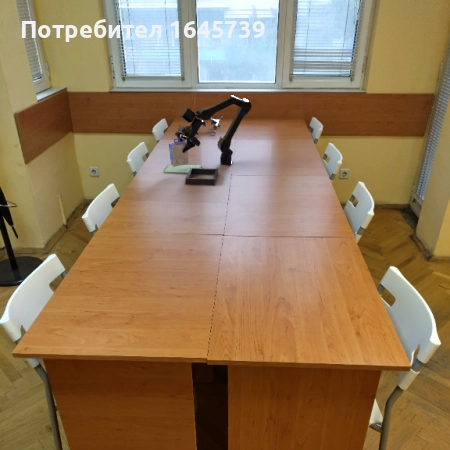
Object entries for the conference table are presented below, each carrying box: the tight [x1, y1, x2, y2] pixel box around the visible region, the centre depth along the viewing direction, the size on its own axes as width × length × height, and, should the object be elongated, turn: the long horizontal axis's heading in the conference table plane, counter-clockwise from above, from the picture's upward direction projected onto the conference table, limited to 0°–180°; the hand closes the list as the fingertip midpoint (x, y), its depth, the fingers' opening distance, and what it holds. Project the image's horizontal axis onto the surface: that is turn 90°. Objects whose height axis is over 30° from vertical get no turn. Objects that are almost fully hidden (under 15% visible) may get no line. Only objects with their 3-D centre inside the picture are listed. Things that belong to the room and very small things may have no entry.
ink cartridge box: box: [168, 138, 190, 167], centre depth 262 cm, size 10×6×14 cm, turn 118°
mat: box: [163, 163, 202, 174], centre depth 270 cm, size 20×14×1 cm
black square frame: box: [185, 167, 219, 186], centre depth 254 cm, size 16×18×4 cm
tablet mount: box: [200, 116, 224, 135], centre depth 346 cm, size 27×14×17 cm
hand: (179, 151), depth 262 cm, fingers closed on ink cartridge box, 6 cm apart
